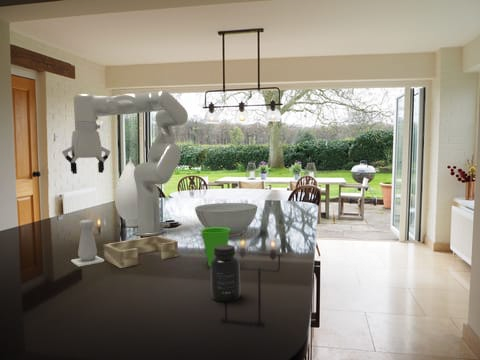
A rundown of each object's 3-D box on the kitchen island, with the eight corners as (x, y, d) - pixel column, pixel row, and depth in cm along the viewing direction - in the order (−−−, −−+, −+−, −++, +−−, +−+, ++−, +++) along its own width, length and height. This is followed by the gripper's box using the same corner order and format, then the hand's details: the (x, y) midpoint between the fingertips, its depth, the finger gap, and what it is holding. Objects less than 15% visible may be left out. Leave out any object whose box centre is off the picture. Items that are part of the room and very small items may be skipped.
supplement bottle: (211, 292, 91) (209, 244, 91) (239, 291, 92) (238, 242, 91) (211, 303, 84) (210, 251, 84) (241, 301, 85) (240, 249, 84)
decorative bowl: (184, 239, 154) (183, 209, 153) (212, 227, 179) (212, 202, 178) (244, 243, 144) (243, 211, 143) (266, 230, 169) (265, 203, 168)
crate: (158, 249, 138) (158, 235, 137) (178, 256, 127) (177, 241, 126) (104, 259, 125) (103, 244, 125) (120, 268, 114) (119, 251, 114)
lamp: (139, 221, 200) (136, 156, 198) (154, 225, 188) (152, 155, 186) (110, 226, 189) (107, 156, 187) (124, 229, 178) (121, 155, 176)
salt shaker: (90, 262, 119) (88, 221, 118) (74, 261, 120) (72, 221, 119) (100, 257, 125) (99, 218, 124) (85, 256, 126) (83, 218, 125)
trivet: (95, 257, 128) (95, 255, 128) (104, 261, 122) (104, 259, 122) (71, 261, 123) (71, 259, 123) (78, 266, 117) (78, 264, 117)
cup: (235, 262, 118) (234, 227, 117) (224, 270, 109) (223, 233, 108) (209, 260, 121) (208, 226, 120) (196, 268, 112) (195, 231, 111)
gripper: (105, 129, 149) (107, 172, 150) (58, 127, 138) (60, 174, 139) (112, 127, 144) (114, 172, 145) (64, 126, 133) (66, 174, 134)
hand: (88, 173), depth 142 cm, fingers open, 9 cm apart
